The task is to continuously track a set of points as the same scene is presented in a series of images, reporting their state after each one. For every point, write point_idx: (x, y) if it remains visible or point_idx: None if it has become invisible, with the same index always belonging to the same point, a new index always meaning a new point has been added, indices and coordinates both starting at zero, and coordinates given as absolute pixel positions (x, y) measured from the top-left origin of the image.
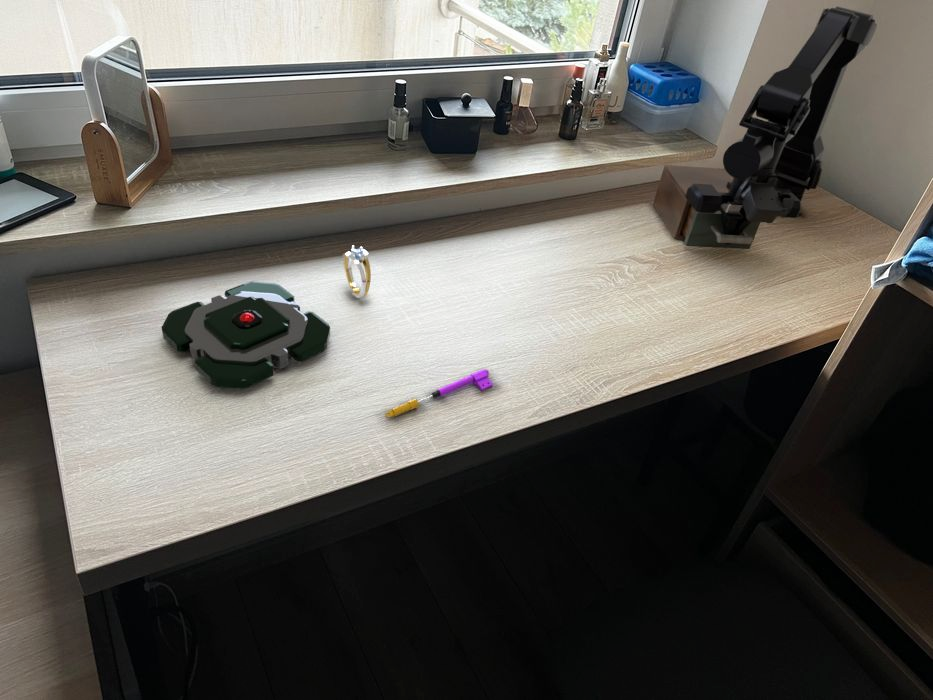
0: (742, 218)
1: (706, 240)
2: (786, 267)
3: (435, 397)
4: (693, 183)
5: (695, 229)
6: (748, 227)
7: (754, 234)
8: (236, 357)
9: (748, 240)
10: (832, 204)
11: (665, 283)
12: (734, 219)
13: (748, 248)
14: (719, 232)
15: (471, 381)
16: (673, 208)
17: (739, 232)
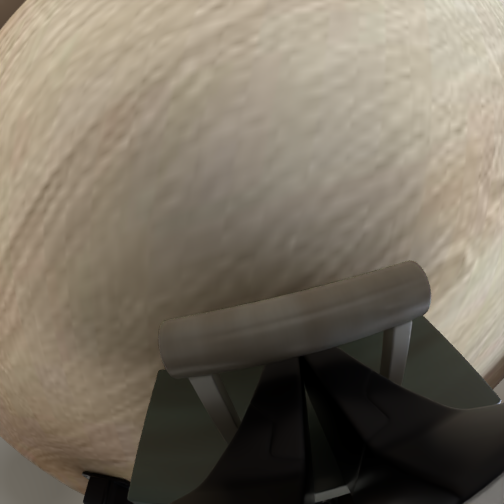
0: (307, 496)
1: (362, 348)
2: (42, 301)
3: None
4: None
5: (443, 355)
6: (185, 448)
7: (149, 421)
8: None
9: (193, 327)
10: (60, 476)
11: (476, 76)
12: (461, 432)
13: (163, 371)
14: (395, 352)
15: None
16: None
17: (271, 389)
